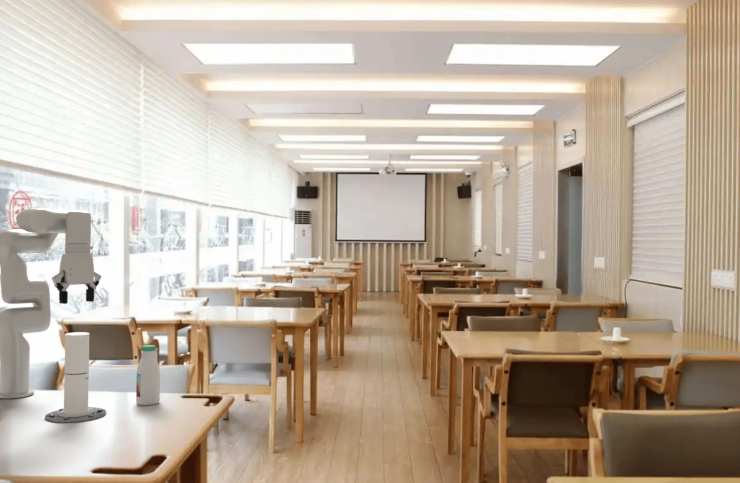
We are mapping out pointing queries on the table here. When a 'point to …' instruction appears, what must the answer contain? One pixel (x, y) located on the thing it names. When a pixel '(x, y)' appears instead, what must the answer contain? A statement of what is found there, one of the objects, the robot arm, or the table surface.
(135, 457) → the table surface
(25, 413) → the table surface
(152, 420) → the table surface
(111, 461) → the table surface
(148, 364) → the milk bottle
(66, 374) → the cylindrical container
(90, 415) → the flange
